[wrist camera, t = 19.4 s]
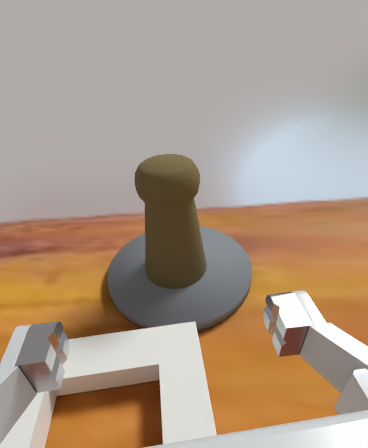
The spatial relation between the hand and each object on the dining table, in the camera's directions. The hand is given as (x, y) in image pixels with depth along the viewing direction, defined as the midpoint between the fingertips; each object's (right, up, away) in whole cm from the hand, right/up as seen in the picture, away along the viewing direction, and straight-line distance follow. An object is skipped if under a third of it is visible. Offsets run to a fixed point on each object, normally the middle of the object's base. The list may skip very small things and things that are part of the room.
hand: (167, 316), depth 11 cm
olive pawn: (0, -1, +17) cm, 17 cm away
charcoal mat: (0, -1, +17) cm, 17 cm away
